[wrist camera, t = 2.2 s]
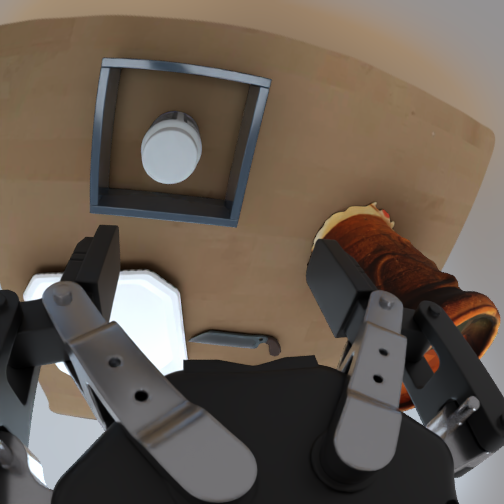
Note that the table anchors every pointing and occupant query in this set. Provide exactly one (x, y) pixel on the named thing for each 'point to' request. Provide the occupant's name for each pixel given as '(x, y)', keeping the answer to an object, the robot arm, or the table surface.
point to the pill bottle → (171, 148)
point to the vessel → (410, 278)
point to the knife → (238, 340)
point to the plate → (139, 314)
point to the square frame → (164, 203)
